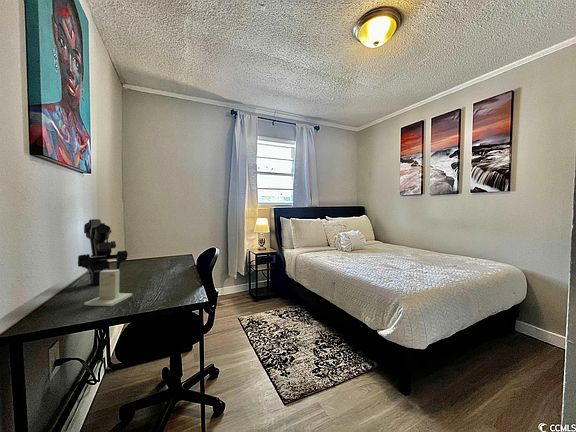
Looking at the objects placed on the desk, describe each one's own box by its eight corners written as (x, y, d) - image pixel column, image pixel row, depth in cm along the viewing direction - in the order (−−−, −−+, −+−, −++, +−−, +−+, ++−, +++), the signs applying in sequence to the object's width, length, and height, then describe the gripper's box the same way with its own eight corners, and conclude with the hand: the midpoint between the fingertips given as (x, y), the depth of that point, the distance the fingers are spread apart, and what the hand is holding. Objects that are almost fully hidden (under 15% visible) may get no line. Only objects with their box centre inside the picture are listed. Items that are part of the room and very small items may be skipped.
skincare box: (98, 300, 103) (98, 272, 102) (104, 296, 107) (104, 269, 107) (115, 299, 104) (114, 271, 104) (120, 295, 108) (119, 268, 108)
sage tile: (84, 305, 100) (84, 302, 100) (107, 294, 112) (107, 292, 112) (111, 305, 99) (111, 303, 99) (132, 295, 111) (132, 293, 111)
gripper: (77, 237, 107) (80, 265, 100) (126, 234, 121) (132, 259, 113) (76, 252, 113) (79, 280, 106) (123, 248, 126) (128, 272, 119)
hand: (106, 272), depth 111 cm, fingers open, 9 cm apart
